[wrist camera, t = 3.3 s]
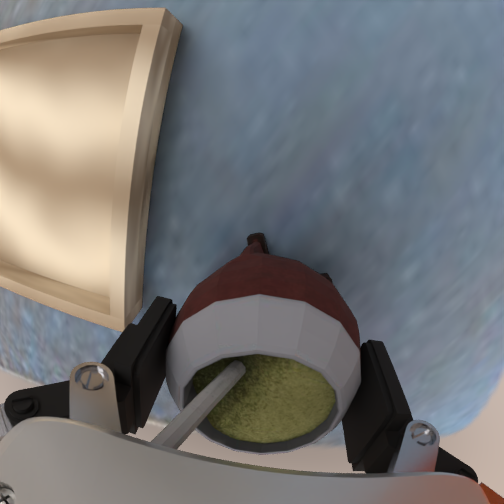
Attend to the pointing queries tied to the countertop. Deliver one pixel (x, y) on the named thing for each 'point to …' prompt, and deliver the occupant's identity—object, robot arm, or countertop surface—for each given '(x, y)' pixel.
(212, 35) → the countertop surface
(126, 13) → the tray
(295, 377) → the mate gourd
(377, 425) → the robot arm
